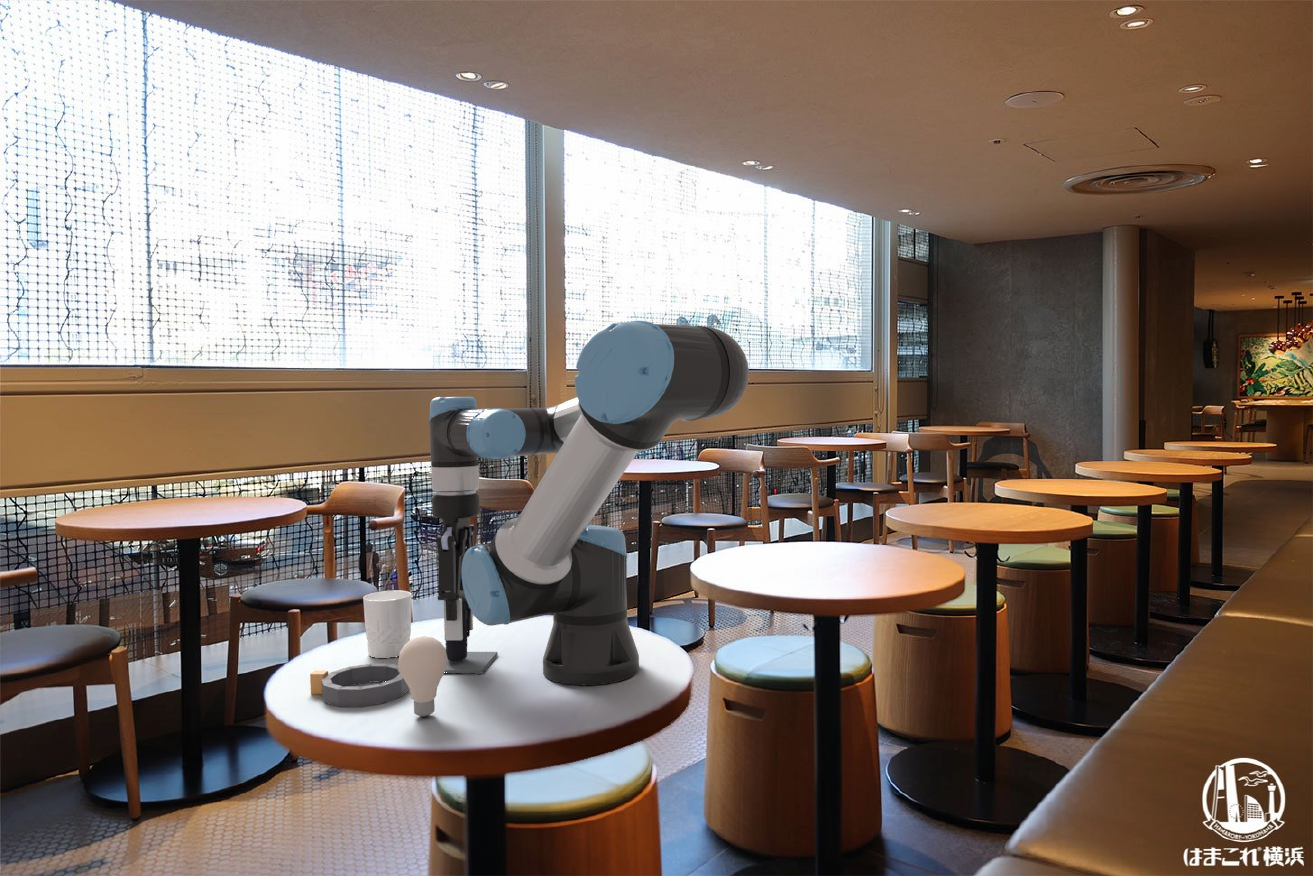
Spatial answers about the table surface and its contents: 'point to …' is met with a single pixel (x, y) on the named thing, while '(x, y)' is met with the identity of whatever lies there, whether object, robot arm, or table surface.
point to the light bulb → (423, 671)
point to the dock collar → (344, 696)
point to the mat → (471, 663)
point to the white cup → (387, 622)
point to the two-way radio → (458, 648)
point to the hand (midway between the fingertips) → (459, 634)
